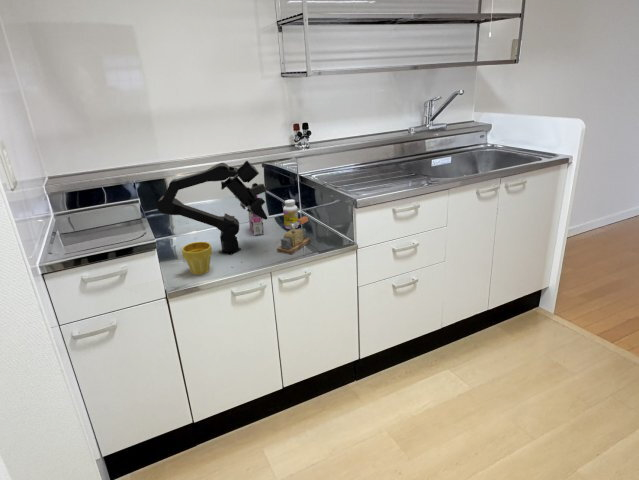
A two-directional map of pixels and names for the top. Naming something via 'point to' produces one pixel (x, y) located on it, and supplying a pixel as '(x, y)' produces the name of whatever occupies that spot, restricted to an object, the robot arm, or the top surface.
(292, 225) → the valve lever
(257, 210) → the robot arm
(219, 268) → the top surface
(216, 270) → the top surface
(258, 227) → the candy bar box
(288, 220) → the supplement bottle
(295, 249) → the walnut mounting plank
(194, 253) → the plant pot
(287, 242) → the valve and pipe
